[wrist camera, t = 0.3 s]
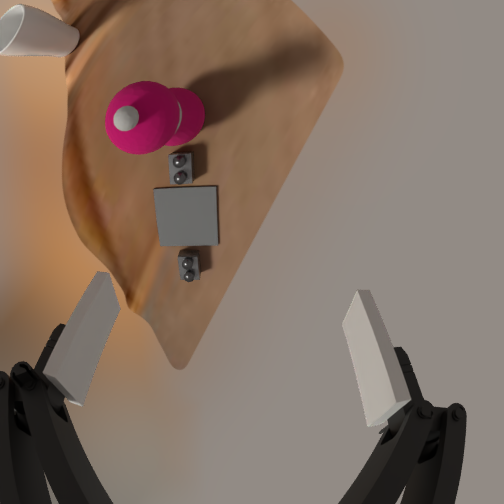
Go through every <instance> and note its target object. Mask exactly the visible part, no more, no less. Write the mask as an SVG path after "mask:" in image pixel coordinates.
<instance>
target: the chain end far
mask: <svg viewBox="0 0 504 504" xmlns="http://www.w3.org/2000/svg"><path fill="white" fill-rule="evenodd" d="M178 264H179V271H180V278H181V280H185V281H187V282H192V281H193V280H200V275H201V268H200V257H199V251H180V252H179V255H178Z"/></svg>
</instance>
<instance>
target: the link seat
mask: <svg viewBox="0 0 504 504" xmlns="http://www.w3.org/2000/svg"><path fill="white" fill-rule="evenodd" d="M153 190H154V200H155V209H156V218H157V226H158V233H159V240H160V246H206V245H218V228H217V198H216V186H205V187H177V188H158V189H153Z"/></svg>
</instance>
